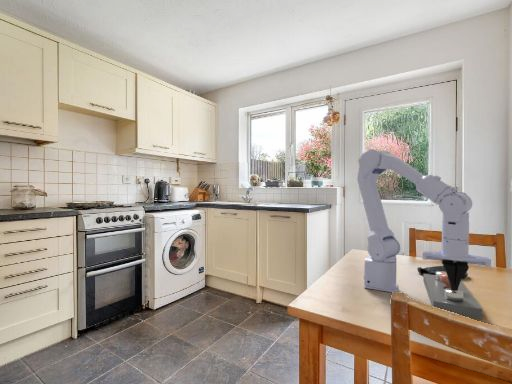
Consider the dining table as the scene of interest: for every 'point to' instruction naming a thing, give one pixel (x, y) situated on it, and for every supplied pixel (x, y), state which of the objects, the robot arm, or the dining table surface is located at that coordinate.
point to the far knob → (439, 274)
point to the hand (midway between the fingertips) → (453, 289)
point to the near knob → (453, 295)
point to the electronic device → (434, 270)
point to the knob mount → (438, 300)
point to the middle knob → (444, 279)
